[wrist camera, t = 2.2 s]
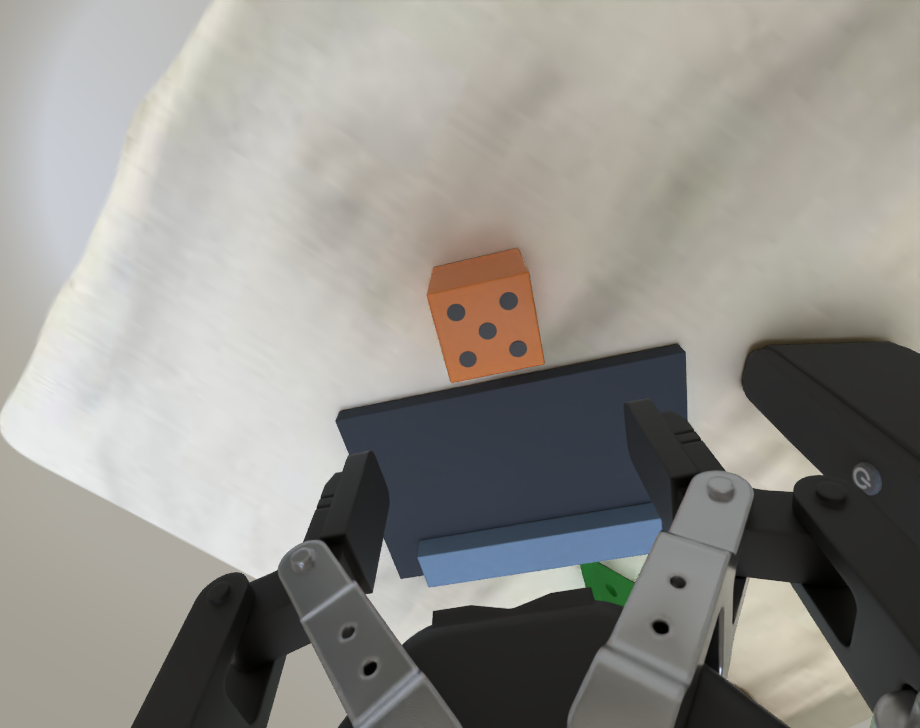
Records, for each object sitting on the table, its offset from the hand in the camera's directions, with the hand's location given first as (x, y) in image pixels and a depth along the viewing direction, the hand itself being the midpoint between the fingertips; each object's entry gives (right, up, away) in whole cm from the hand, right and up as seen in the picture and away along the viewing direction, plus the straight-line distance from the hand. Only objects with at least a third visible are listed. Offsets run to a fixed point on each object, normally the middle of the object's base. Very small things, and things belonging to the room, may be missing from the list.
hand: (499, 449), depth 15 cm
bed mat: (+3, -5, +19) cm, 20 cm away
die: (0, +7, +13) cm, 15 cm away
